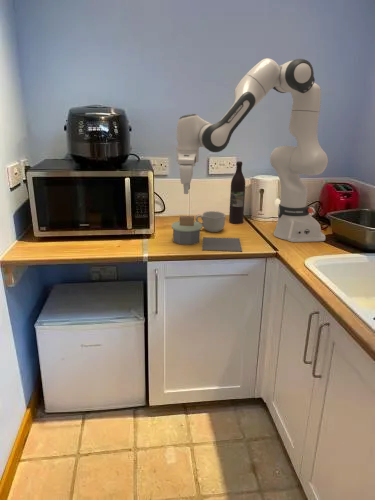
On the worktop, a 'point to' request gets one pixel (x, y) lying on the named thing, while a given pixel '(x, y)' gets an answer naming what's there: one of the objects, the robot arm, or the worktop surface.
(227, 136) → the robot arm
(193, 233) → the octagonal grey bowl
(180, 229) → the lid
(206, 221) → the teacup
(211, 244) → the mat
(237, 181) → the wine bottle
